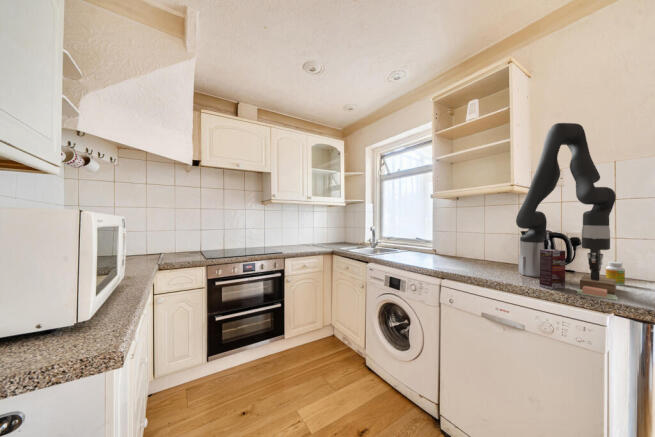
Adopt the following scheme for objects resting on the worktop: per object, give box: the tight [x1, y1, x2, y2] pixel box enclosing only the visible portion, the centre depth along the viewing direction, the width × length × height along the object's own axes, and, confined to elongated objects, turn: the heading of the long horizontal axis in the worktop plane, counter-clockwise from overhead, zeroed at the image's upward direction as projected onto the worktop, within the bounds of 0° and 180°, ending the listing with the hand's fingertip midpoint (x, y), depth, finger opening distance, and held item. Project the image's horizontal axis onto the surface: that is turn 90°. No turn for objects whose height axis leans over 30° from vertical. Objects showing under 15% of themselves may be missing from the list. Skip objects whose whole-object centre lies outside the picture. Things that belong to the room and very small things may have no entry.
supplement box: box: [538, 248, 567, 290], centre depth 100 cm, size 9×5×16 cm, turn 106°
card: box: [582, 286, 607, 297], centre depth 90 cm, size 5×6×2 cm
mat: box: [576, 288, 619, 301], centre depth 90 cm, size 10×7×1 cm
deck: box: [579, 274, 617, 295], centre depth 97 cm, size 14×9×4 cm, turn 128°
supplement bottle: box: [605, 261, 626, 286], centre depth 106 cm, size 5×5×10 cm
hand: (595, 280), depth 94 cm, fingers closed
